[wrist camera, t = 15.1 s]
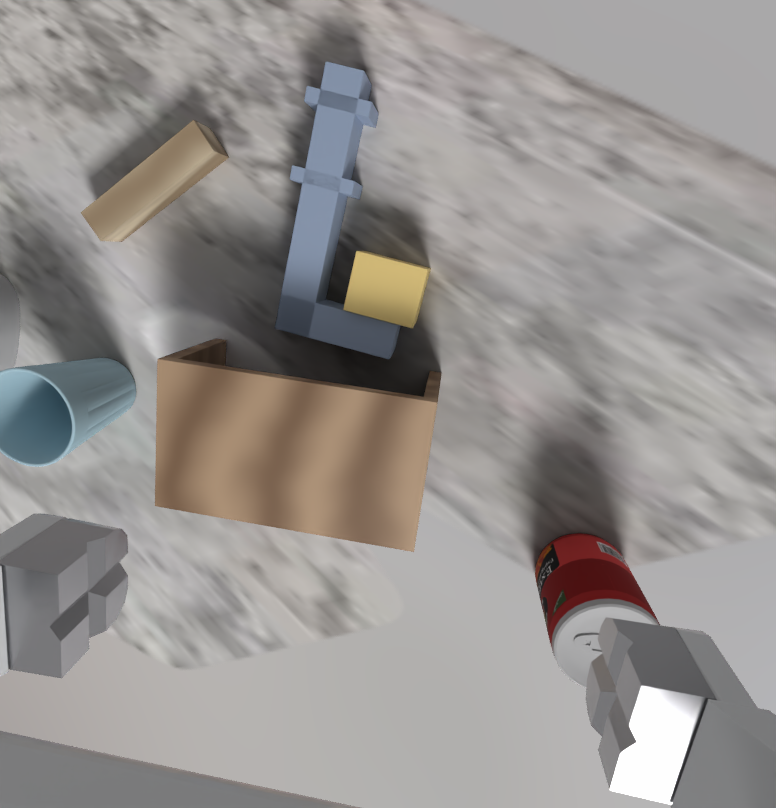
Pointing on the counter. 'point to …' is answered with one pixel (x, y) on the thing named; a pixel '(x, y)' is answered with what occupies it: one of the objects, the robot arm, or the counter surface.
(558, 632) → the canned food
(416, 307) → the ochre block
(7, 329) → the lumpy-topped squat cylinder
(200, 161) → the beech stick
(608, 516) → the counter surface
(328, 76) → the crook
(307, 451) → the box
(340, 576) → the counter surface
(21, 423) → the cup
